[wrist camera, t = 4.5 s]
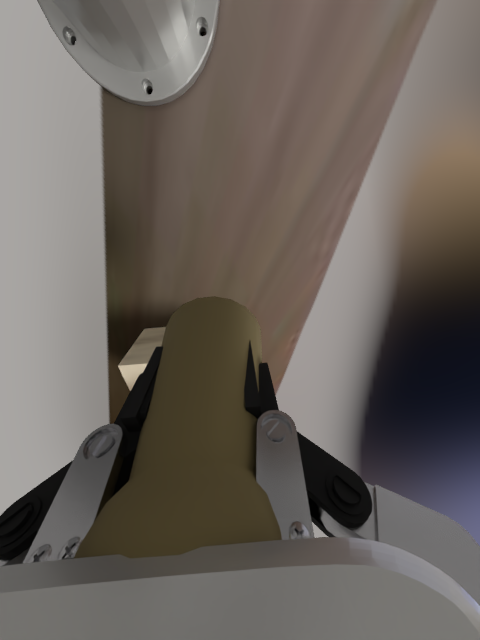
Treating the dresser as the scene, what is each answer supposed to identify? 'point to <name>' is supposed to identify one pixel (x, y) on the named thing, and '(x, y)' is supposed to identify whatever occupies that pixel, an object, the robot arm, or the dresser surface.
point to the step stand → (140, 354)
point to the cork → (193, 446)
